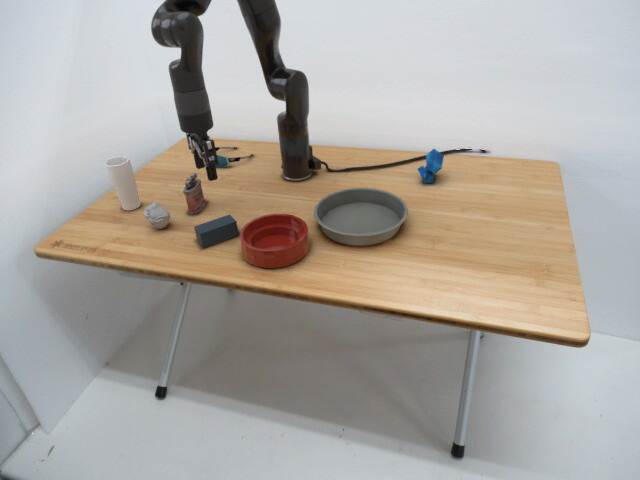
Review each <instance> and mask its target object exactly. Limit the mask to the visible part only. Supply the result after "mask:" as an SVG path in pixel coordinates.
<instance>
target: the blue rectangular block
mask: <svg viewBox="0 0 640 480" xmlns="http://www.w3.org/2000/svg"><path fill="white" fill-rule="evenodd" d="M193 228H194V232H195V236H196V240H197V242H198V243H199V245H200V246H201V248H202V249H205V248H208V247H212V246H213V245H216V244H219V243H222V242H225V241H227V240H229V239H233V238H235V237H238V236H240V232H239V228H238V222H237V220H236V219H235V218H234V217H233V216H232V214H226V215H224V216H221V217H218V218H215V219H212V220H209V221H206V222H204V223H200V224H197V225H194V226H193Z"/></svg>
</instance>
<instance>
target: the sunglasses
mask: <svg viewBox="0 0 640 480" xmlns="http://www.w3.org/2000/svg"><path fill="white" fill-rule="evenodd" d="M215 148H216V152H218V151H219V150H223V149H224V150H237V149H238V147H237V146H217V147H216V146H215ZM253 156H254V154H252V153H251V154H249V155H245V156H238V157H229V156H227V155H223V154H219V153H217V158H218V162H219V164H218V165H215V166H216V168H228V167H229V166H230V164H231V163H237V162H240V160H245V159H249V158H251V157H253ZM209 161H211V157H209Z"/></svg>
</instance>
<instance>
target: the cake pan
mask: <svg viewBox="0 0 640 480" xmlns="http://www.w3.org/2000/svg"><path fill="white" fill-rule="evenodd" d="M408 214H409V207H408V205H407V204H406V202H405V201H404V200H403V199H402V198H401V197H399V196H398V195H396V194H394V193H392V192H389V191H387V190H383V189H379V188H373V187H350V188H344V189H340V190H336V191H334V192H331V193H329V194H327V195H325V196H324V197H322V198H321V199H320V200H319V201H318V202H317V203H316V204H315V206H314V209H313V217H314V219H315V220H316V222H317V223H318V224H319V225H320V228H321V231H322V232H323V234H324V235H325V236H326V237H328V238H329V239H331V240H333V241H334V242H337V243H338V244H343V245H348V246H357V247H358V246H359V247H363V246H372V245H378V244H381V243H383V242H386V241H388V240H390V239H391V238H393V237H394V236H395V235H396V234H397V233H398V232H399V231H400V228H401V226H402V224H404V222H405V221H406V220H407V218H408Z"/></svg>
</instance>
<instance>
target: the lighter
mask: <svg viewBox="0 0 640 480" xmlns="http://www.w3.org/2000/svg"><path fill="white" fill-rule="evenodd" d="M184 185H185V186H184V188H183V190H182V192H183V194H184V197H185V201H186V204H187V209H188V215H191V216H195V215H198V214H199V213H200V212H201V211H202V210H203V209H204V207H205V205H206V199H205V196H204V192H203V187H202V180H201V178H198V174H197V173H196V172H193V173H191V175H190V176H189V177H188V176H187V177H186V178H185V181H184Z"/></svg>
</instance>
